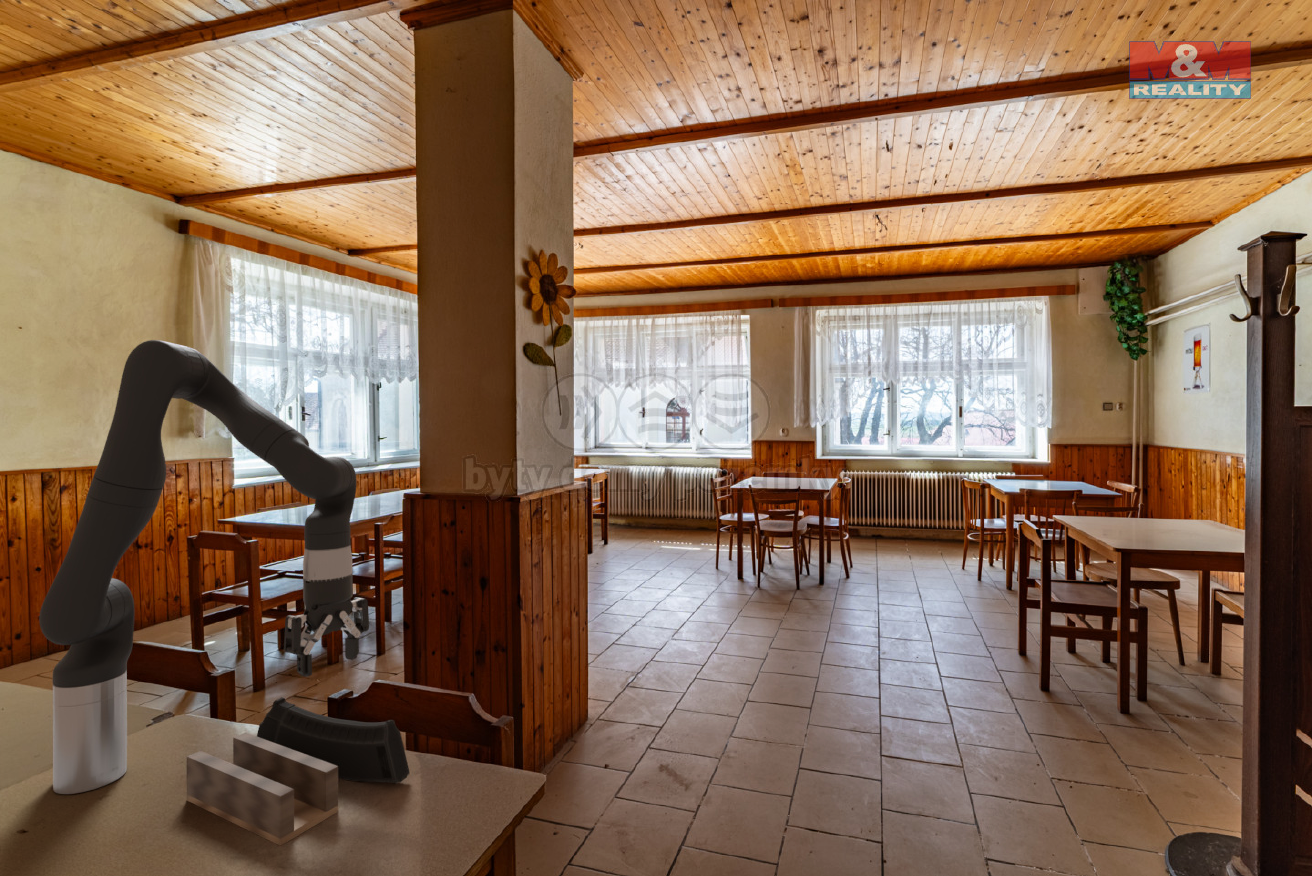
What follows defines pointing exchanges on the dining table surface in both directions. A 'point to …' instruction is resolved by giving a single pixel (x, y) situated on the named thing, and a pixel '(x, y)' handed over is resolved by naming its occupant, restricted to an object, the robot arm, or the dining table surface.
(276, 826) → the slot block
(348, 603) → the robot arm
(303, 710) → the magazine
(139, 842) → the dining table surface
